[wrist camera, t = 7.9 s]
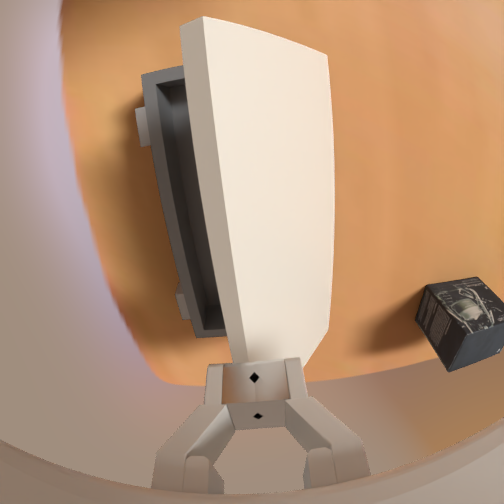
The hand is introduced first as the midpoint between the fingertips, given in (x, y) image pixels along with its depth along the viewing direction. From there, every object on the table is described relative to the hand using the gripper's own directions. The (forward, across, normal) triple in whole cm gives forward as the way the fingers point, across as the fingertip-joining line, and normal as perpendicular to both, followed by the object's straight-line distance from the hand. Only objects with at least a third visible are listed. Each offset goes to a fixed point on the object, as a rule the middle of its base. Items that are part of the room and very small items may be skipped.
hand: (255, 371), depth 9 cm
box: (+20, -26, +16) cm, 37 cm away
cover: (+10, -2, 0) cm, 10 cm away
